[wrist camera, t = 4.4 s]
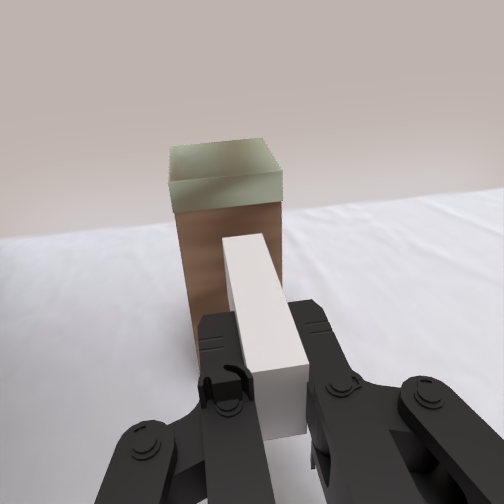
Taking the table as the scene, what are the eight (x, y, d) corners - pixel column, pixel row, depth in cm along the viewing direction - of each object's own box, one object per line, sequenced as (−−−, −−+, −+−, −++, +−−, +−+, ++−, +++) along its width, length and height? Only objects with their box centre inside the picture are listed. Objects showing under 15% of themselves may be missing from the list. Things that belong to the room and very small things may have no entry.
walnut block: (201, 384, 25) (168, 182, 18) (197, 327, 30) (169, 146, 23) (284, 371, 26) (282, 170, 19) (268, 317, 30) (262, 137, 23)
